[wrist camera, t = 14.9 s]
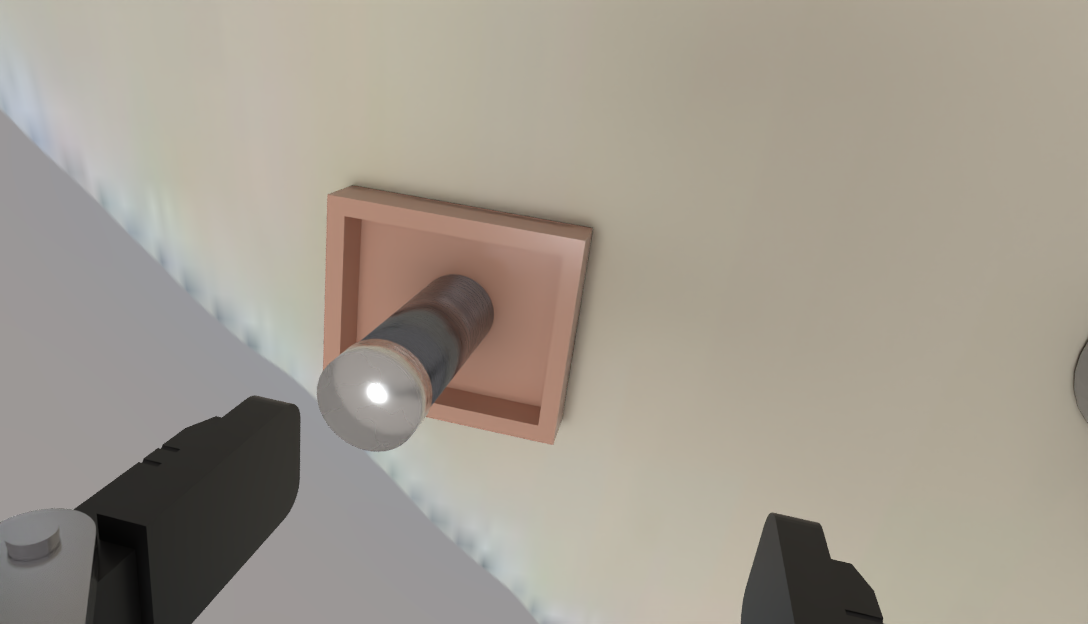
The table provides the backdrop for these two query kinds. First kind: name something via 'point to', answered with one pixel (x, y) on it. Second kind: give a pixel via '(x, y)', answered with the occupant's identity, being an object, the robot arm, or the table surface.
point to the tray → (489, 259)
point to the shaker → (404, 364)
